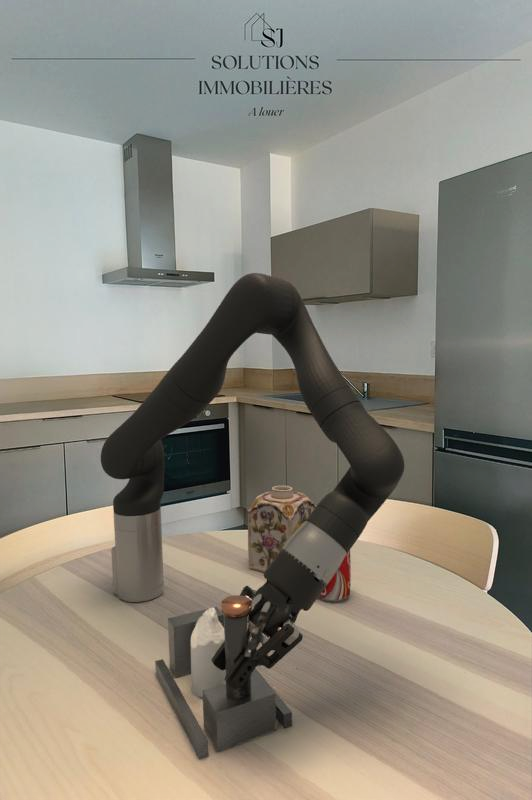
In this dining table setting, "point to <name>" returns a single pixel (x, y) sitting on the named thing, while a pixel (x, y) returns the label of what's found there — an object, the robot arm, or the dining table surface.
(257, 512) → the decorative jar
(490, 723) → the dining table surface
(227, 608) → the handle
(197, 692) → the white tapered sculpture
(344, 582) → the soda can
